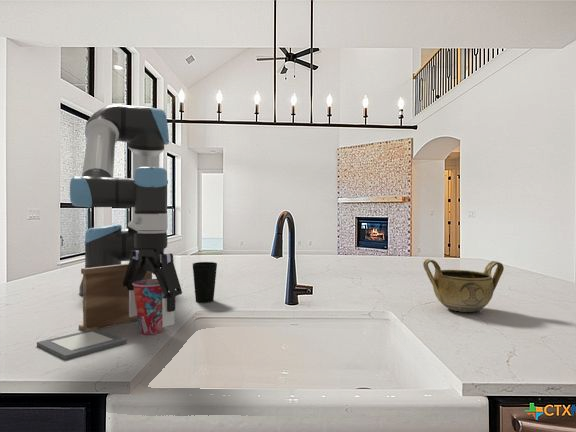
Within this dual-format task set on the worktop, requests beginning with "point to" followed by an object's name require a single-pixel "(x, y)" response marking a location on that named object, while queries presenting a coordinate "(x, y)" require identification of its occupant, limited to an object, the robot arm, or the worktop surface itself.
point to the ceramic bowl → (464, 286)
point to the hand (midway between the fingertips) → (150, 320)
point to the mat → (81, 343)
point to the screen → (106, 297)
